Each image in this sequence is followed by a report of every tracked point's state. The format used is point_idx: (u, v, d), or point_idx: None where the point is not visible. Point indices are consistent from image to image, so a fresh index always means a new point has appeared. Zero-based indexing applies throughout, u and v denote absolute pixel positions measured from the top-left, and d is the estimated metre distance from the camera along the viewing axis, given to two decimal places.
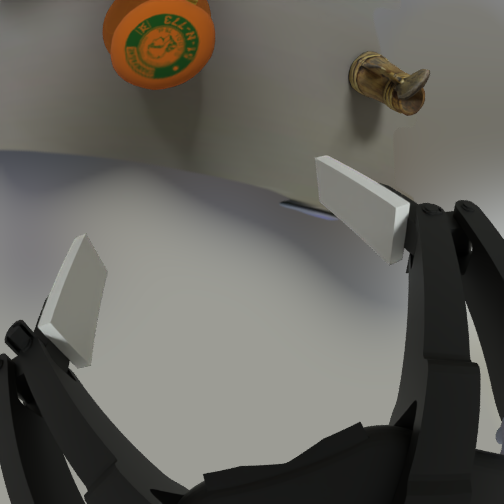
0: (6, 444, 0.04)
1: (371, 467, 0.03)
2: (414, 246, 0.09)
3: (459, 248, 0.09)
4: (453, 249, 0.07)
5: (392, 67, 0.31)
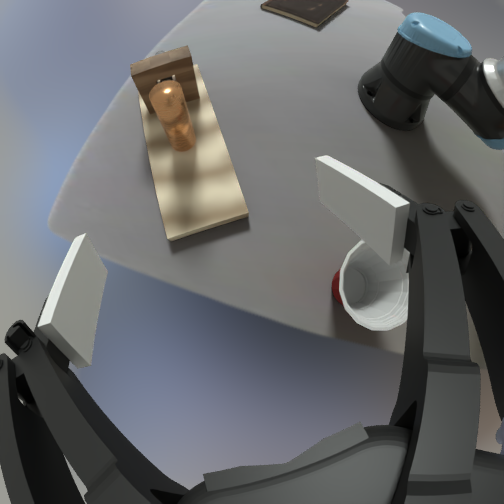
0: (6, 444, 0.04)
1: (371, 467, 0.03)
2: (414, 246, 0.09)
3: (459, 248, 0.09)
4: (453, 249, 0.07)
5: None
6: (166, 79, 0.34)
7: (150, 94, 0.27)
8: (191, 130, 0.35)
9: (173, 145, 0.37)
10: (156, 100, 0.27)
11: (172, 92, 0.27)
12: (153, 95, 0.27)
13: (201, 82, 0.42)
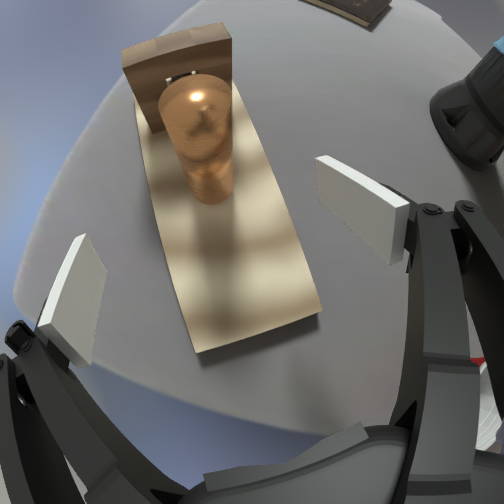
0: (6, 444, 0.04)
1: (371, 467, 0.03)
2: (414, 246, 0.09)
3: (459, 248, 0.09)
4: (453, 249, 0.07)
5: None
6: (183, 77, 0.20)
7: (161, 102, 0.13)
8: (232, 172, 0.21)
9: (197, 195, 0.23)
10: (175, 116, 0.13)
11: (211, 100, 0.13)
12: (168, 104, 0.13)
13: (232, 86, 0.28)
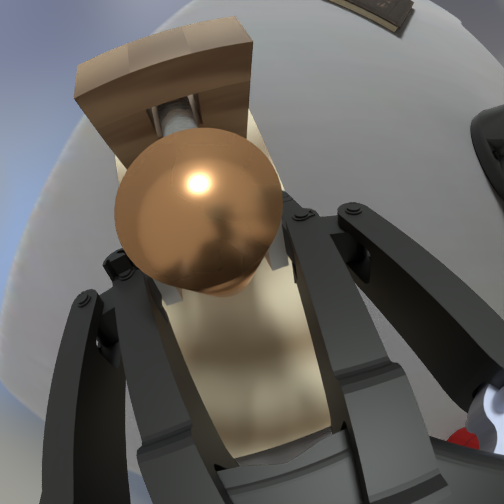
0: (63, 392, 0.05)
1: (371, 467, 0.03)
2: (294, 256, 0.10)
3: (344, 254, 0.10)
4: (335, 250, 0.08)
5: None
6: (174, 104, 0.13)
7: (121, 208, 0.06)
8: None
9: None
10: (154, 255, 0.06)
11: (236, 208, 0.06)
12: (136, 217, 0.06)
13: None
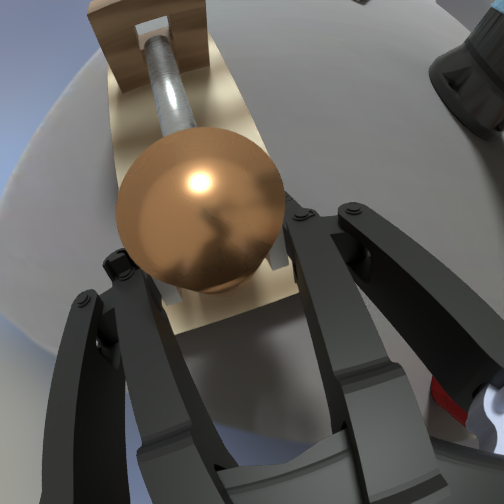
0: (63, 393, 0.05)
1: (371, 467, 0.03)
2: (294, 256, 0.10)
3: (345, 254, 0.10)
4: (335, 250, 0.08)
5: None
6: (174, 104, 0.13)
7: (122, 207, 0.06)
8: None
9: None
10: (157, 255, 0.06)
11: (239, 207, 0.06)
12: (138, 216, 0.06)
13: (211, 44, 0.23)
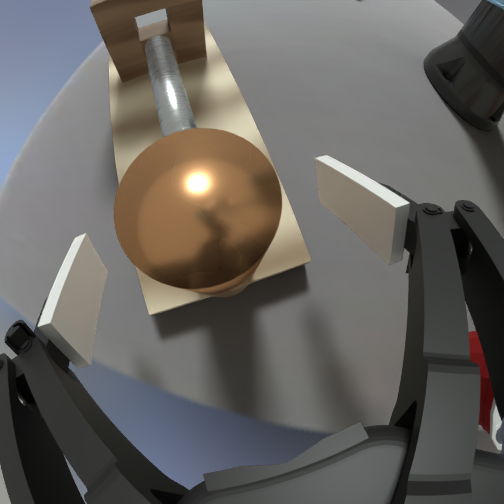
0: (6, 444, 0.04)
1: (371, 467, 0.03)
2: (414, 246, 0.09)
3: (459, 248, 0.09)
4: (453, 249, 0.07)
5: None
6: (174, 104, 0.13)
7: (120, 208, 0.06)
8: None
9: None
10: (154, 256, 0.06)
11: (236, 208, 0.06)
12: (135, 217, 0.06)
13: (208, 37, 0.23)
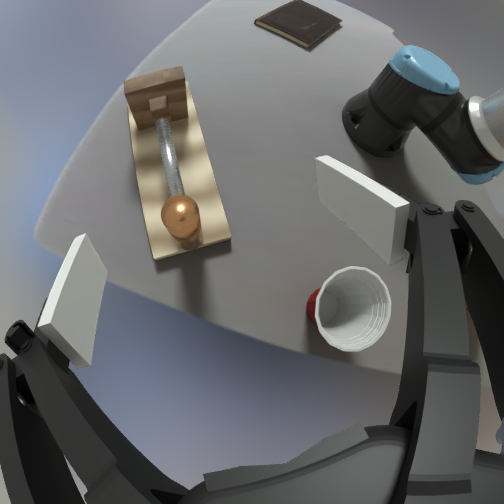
0: (6, 444, 0.04)
1: (371, 467, 0.03)
2: (414, 246, 0.09)
3: (459, 248, 0.09)
4: (453, 249, 0.07)
5: None
6: (171, 166, 0.34)
7: (162, 214, 0.27)
8: (201, 235, 0.36)
9: (180, 246, 0.37)
10: (170, 225, 0.27)
11: (188, 215, 0.27)
12: (166, 216, 0.27)
13: (190, 101, 0.44)
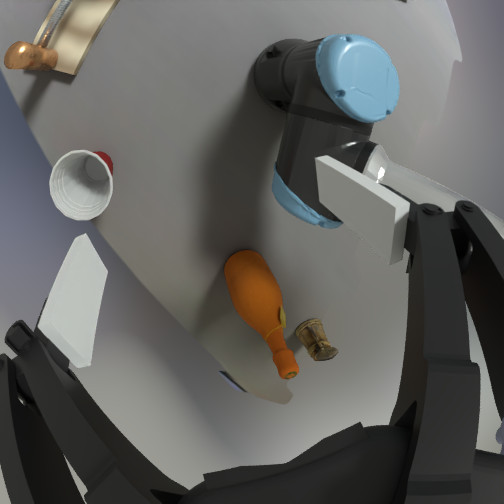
0: (6, 444, 0.04)
1: (371, 467, 0.03)
2: (414, 246, 0.09)
3: (459, 248, 0.09)
4: (453, 249, 0.07)
5: (322, 334, 0.78)
6: (60, 7, 0.18)
7: (8, 50, 0.16)
8: (44, 66, 0.25)
9: None
10: (6, 60, 0.16)
11: (17, 59, 0.17)
12: (8, 53, 0.16)
13: None
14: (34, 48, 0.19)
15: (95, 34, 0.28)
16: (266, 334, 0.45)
